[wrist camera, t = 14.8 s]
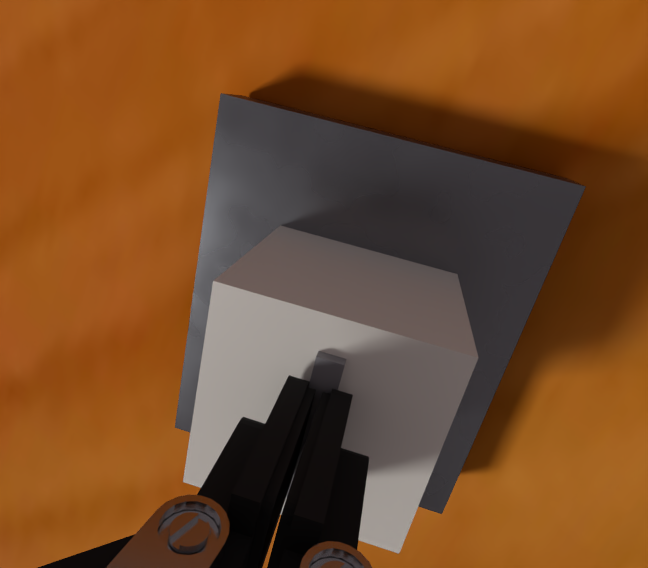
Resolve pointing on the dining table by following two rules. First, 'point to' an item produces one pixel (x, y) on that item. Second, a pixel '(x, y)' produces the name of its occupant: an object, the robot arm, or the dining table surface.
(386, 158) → the plate
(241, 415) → the knob
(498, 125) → the dining table surface
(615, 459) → the dining table surface
